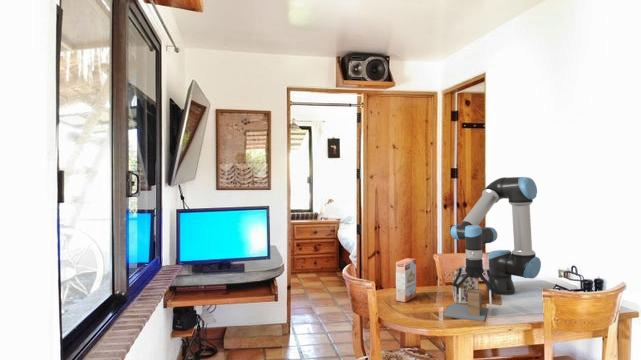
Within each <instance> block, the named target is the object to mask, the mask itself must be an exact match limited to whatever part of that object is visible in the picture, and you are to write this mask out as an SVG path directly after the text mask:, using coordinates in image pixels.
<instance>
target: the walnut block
mask: <svg viewBox="0 0 641 360" xmlns="http://www.w3.org/2000/svg"><path fill="white" fill-rule="evenodd" d="M482 301H483V300H482V289H470V290H469V292H468V304H467V305H468V315H475V316H480V314H481V311H482V307H483V305H482V303H483V302H482Z"/></svg>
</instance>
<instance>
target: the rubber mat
mask: <svg viewBox="0 0 641 360" xmlns="http://www.w3.org/2000/svg"><path fill="white" fill-rule="evenodd" d="M445 309H446V310H445V311H444V313H443V314H442V317H445V318H446V317H447V318H452V319H459V320H466V321H467V320H468V321H473V320H474V322H480V321H481V323H485V321H486V317H487V314H488V312H489V307H484V306H482V311H481V314H480V316H475V315H468V304H456V303H450V304H448V307H447V308H445Z"/></svg>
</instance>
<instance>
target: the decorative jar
mask: <svg viewBox="0 0 641 360" xmlns="http://www.w3.org/2000/svg"><path fill="white" fill-rule="evenodd" d="M461 267H462V268H466V265H462V266H461ZM458 273H459V268H458V269H453V272H452V283H453V282H454V280H455V279H456V277H457V275H458ZM466 275H467V273H466V271H463V272H462V273H461V275H460V277H459V279H458V281H457V283H456V284H458V283H459V282H460V281H461V280H462V279H463V278H464V277H465V276H466ZM479 283H480V282H479V278H471V277H468V278H467V279H466V280H465V281H464V282H463V283H462V284H461V286H460V287H461V294H462V301H461V302H459V294H457V288H456V287H455V286H453V285H452V298H453V300H454V304H461V305H468V292H469V290H470V289H479V288H480V287H479V286H480V285H479ZM479 290H480V289H479Z"/></svg>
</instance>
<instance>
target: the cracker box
mask: <svg viewBox="0 0 641 360" xmlns="http://www.w3.org/2000/svg"><path fill="white" fill-rule="evenodd" d="M416 297H417V259H416V258H409V257H406V258H404V259H401V260H398V261H396V262H395V301H396V302H399V303H400V302H401V303H407V302H409V301H411V300H412V299H414V298H416Z"/></svg>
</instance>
